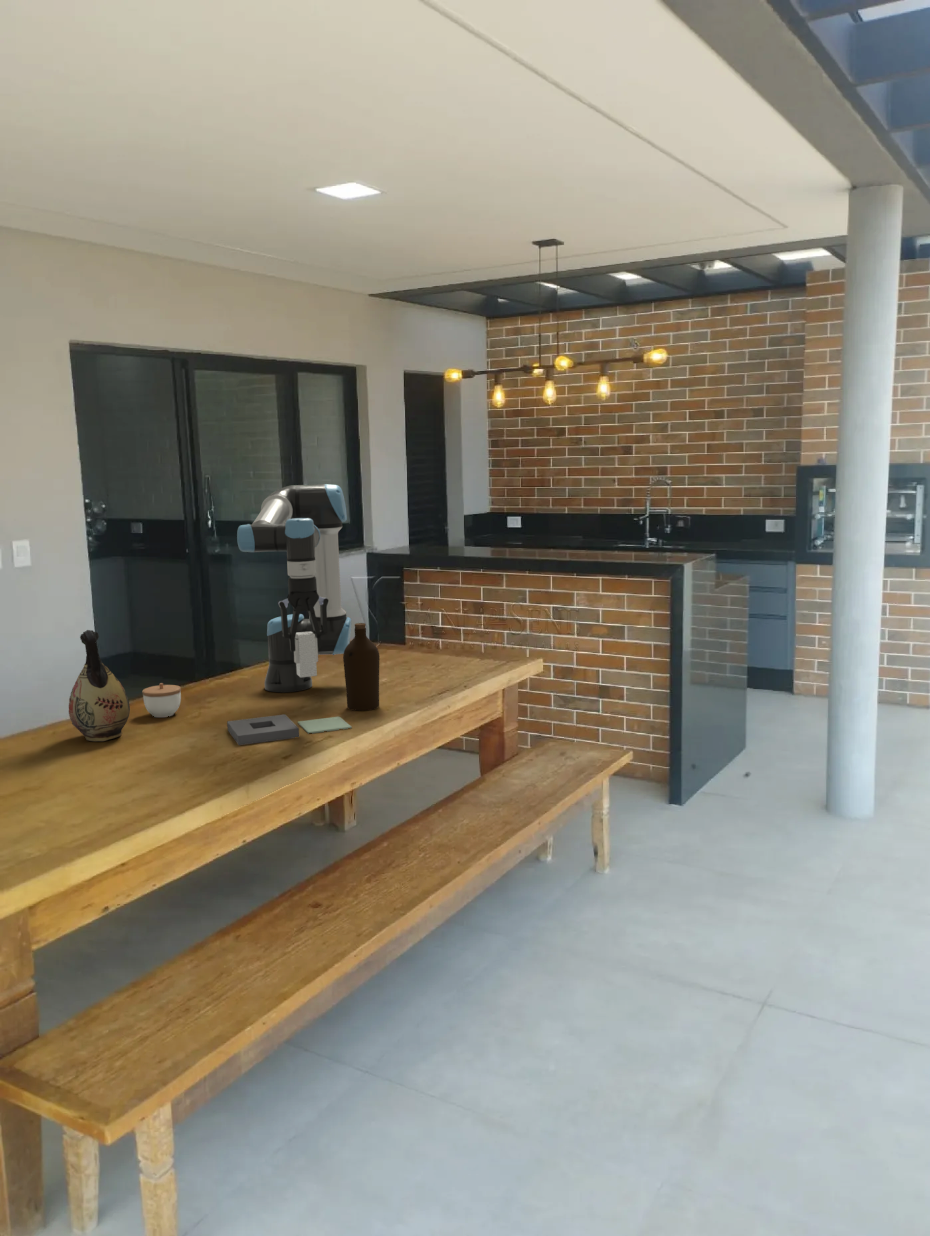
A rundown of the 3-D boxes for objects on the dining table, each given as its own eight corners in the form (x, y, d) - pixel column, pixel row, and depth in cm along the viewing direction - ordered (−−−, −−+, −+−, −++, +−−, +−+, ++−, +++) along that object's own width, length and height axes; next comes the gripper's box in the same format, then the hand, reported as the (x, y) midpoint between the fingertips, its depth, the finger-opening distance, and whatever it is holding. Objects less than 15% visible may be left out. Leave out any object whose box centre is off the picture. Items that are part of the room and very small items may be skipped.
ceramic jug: (70, 734, 274) (60, 626, 269) (129, 727, 280) (120, 621, 275) (72, 750, 258) (62, 636, 253) (135, 742, 264) (126, 630, 259)
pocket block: (227, 730, 274) (227, 721, 274) (285, 723, 280) (284, 714, 280) (238, 745, 259) (238, 735, 259) (299, 737, 266) (298, 728, 265)
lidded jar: (190, 712, 295) (188, 680, 293) (165, 721, 285) (162, 688, 284) (161, 708, 299) (159, 678, 298) (136, 717, 290) (133, 686, 288)
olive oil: (379, 711, 291) (376, 626, 287) (343, 712, 291) (339, 627, 287) (382, 702, 301) (379, 620, 297) (347, 703, 301) (344, 621, 297)
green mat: (297, 723, 279) (297, 721, 279) (339, 718, 284) (339, 716, 284) (308, 734, 269) (308, 732, 268) (351, 728, 273) (351, 726, 273)
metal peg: (296, 674, 274) (294, 632, 272) (313, 672, 275) (311, 631, 273) (300, 677, 270) (298, 635, 268) (316, 675, 271) (314, 634, 269)
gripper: (272, 580, 261) (276, 667, 265) (337, 575, 268) (341, 661, 272) (266, 577, 268) (271, 662, 272) (330, 572, 275) (334, 656, 278)
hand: (306, 661), depth 272 cm, fingers closed on metal peg, 4 cm apart
